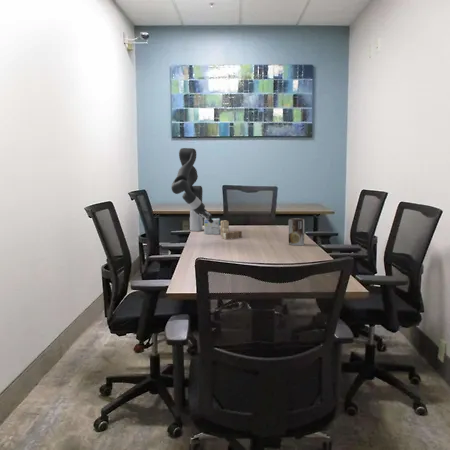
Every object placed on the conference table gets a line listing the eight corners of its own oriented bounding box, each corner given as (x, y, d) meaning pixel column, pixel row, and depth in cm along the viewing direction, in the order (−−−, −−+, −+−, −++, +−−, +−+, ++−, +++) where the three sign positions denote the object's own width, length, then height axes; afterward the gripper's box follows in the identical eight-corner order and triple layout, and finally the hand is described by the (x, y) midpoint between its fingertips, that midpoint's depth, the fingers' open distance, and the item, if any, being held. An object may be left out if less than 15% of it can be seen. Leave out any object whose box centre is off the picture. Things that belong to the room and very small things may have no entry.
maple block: (220, 234, 319) (220, 220, 317) (225, 234, 321) (225, 220, 320) (224, 235, 316) (223, 221, 314) (228, 235, 318) (228, 220, 317)
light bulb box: (220, 232, 328) (219, 218, 327) (219, 234, 322) (218, 219, 320) (205, 232, 329) (205, 217, 328) (204, 234, 323) (203, 219, 321)
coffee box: (304, 243, 284) (305, 218, 281) (302, 245, 278) (303, 219, 275) (290, 243, 287) (290, 217, 284) (288, 245, 281) (288, 219, 278)
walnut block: (221, 232, 304) (238, 230, 312) (221, 238, 305) (238, 236, 313) (225, 233, 301) (241, 231, 309) (225, 239, 302) (241, 237, 310)
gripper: (205, 200, 283) (221, 218, 292) (193, 199, 293) (209, 216, 302) (198, 209, 280) (214, 227, 289) (186, 208, 291) (203, 225, 300)
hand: (212, 222), depth 296 cm, fingers closed
